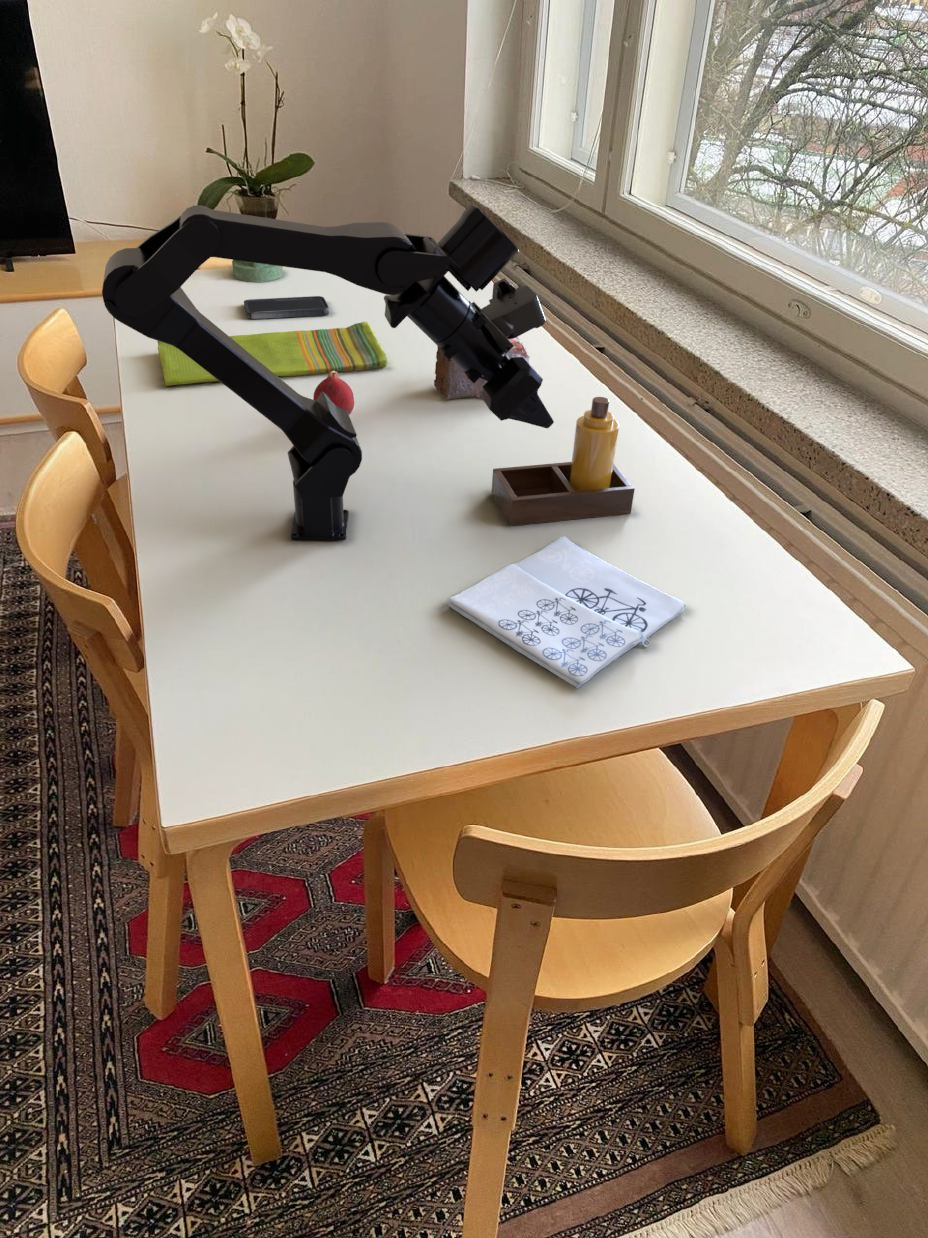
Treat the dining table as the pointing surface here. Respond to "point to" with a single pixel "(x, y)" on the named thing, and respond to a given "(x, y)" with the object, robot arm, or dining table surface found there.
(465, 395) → the red crystal topped stone
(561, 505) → the brown divided tray
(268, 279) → the decorative artifact
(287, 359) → the dish towel
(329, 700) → the dining table surface
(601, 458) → the bottle
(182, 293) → the robot arm
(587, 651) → the folded bicycle print cloth
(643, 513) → the dining table surface
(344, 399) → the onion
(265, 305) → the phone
